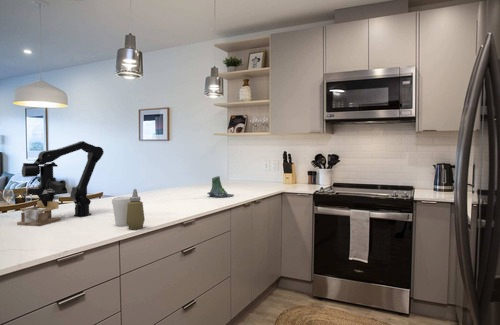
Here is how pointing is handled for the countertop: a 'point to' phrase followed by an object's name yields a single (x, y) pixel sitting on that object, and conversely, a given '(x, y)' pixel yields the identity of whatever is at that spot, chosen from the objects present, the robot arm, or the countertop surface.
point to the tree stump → (218, 189)
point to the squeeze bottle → (135, 212)
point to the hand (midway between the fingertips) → (47, 206)
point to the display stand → (36, 218)
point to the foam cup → (120, 210)
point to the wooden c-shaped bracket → (50, 206)
